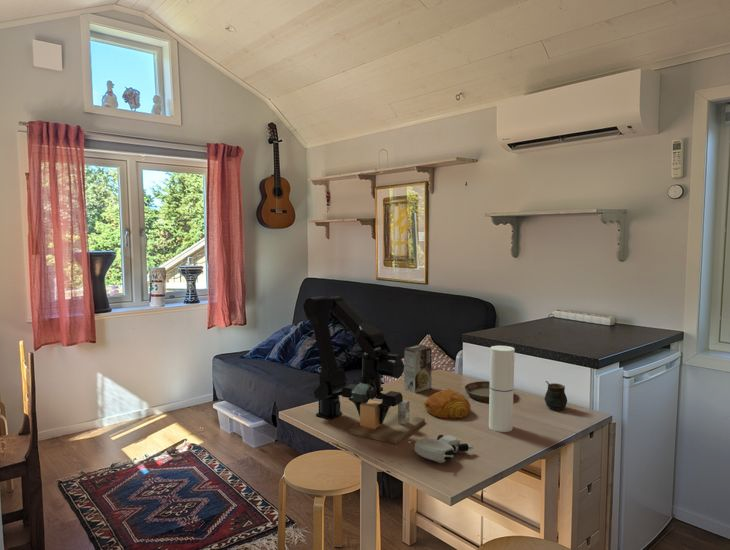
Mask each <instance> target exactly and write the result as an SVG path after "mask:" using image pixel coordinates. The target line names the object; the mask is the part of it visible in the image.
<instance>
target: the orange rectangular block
mask: <svg viewBox="0 0 730 550" xmlns="http://www.w3.org/2000/svg"><path fill="white" fill-rule="evenodd" d="M380 403H382V401H381V402H380V401H377V400H373V399H369V400H368V402H367V403H362V404H360V416H359V423H360V426H364V427H369V428H373V429H375V428H377V427H378V426H380V425H381V424H380V421H379V417H380V408H379V406H378V405H379V404H380ZM382 424H383V423H382Z"/></svg>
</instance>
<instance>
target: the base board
mask: <svg viewBox="0 0 730 550" xmlns="http://www.w3.org/2000/svg"><path fill="white" fill-rule="evenodd" d="M425 422H426V418H424V417H419V416H414V415H409V423H408V424H407V425H401V424H398V412H395V411H394V412H393V411H389V410H388V412H387V414H386V416H385V419H384V421H383V424H381V425H380V426H378V427H377V428H375V429H373V428H369V427H364V426H360V422H359V423H357V424H355V425H353V426H352V427H349V429H348V434H350V435H355V436H359V437H364V438H368V439H372V440H376V441H379V442H384V443H387V444H388V443H389V444H392V445H397V444H399V443H400V442H401V441H402V440H404V439H405V438H406V437H407V436H409V435H410V434H412V433H413V432H414V431H416V430H417V429H418V428H420V427H421V426H422V425H424V424H425Z"/></svg>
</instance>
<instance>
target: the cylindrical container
mask: <svg viewBox="0 0 730 550" xmlns="http://www.w3.org/2000/svg"><path fill="white" fill-rule="evenodd" d="M515 353H516V352H515V347H513V346H508V345H492V346H490V351H489V354H490V356H489V358H490V360H489V382H490V393H489V403H488V404H489V406H488V407H489V409H488V428H489V429H490V430H491V431H495V432H499V433H506V432H507V433H508V432H511V431H512V430H513V427H514V425H513V421H514V420H513V419H514V417H513V416H514V389H515V388H514V387H515V383H514V381H515Z"/></svg>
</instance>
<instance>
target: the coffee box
mask: <svg viewBox="0 0 730 550" xmlns="http://www.w3.org/2000/svg"><path fill="white" fill-rule="evenodd" d="M403 356H404V357H403V358H404V359H403V364H404V372H403V389H404V390H406V391H408V392H412V393H415V394H416V393H420V392H423V391H425V390H429V389H432V346H427V345H423V344H416V345H413V346H409V347H404V348H403Z"/></svg>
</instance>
